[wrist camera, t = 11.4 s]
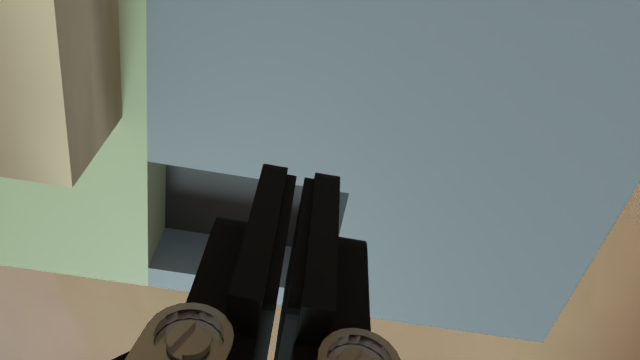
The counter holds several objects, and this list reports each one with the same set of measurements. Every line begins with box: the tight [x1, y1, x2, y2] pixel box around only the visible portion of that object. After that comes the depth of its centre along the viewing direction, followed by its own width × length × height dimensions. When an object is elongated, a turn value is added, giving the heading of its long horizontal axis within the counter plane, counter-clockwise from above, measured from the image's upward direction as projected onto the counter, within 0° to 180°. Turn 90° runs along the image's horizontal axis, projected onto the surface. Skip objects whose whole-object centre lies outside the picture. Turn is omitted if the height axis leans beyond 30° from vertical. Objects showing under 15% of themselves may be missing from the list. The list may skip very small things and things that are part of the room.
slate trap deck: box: [0, 0, 640, 343], centre depth 17 cm, size 24×20×5 cm
